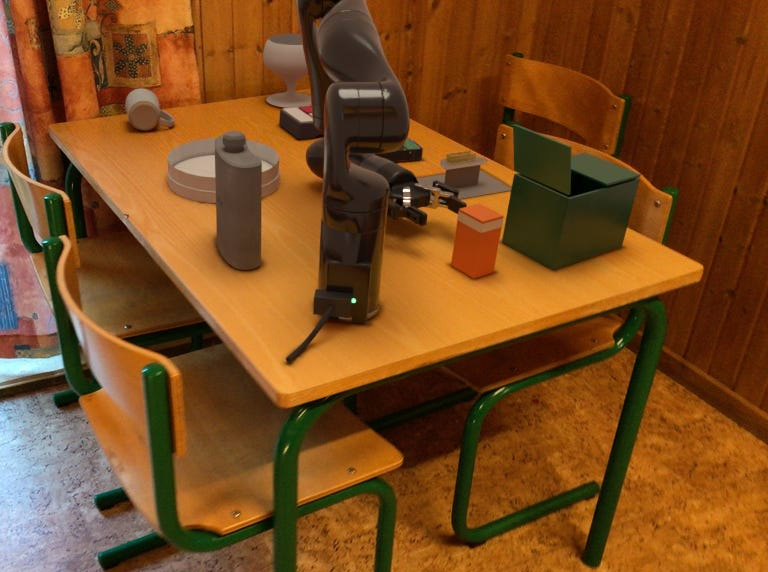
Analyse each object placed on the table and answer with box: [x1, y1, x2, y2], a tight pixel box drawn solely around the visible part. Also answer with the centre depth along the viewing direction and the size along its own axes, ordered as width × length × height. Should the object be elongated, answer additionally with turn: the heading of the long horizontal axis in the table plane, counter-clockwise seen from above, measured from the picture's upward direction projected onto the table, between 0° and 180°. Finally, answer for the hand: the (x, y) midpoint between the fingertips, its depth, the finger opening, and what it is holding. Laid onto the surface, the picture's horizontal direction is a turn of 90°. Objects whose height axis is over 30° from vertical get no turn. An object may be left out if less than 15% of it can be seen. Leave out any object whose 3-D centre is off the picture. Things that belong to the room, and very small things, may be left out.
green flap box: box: [501, 152, 642, 271], centre depth 142 cm, size 17×12×13 cm
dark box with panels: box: [278, 105, 324, 140], centre depth 193 cm, size 11×4×15 cm
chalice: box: [262, 33, 311, 108], centre depth 206 cm, size 14×14×15 cm
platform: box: [416, 149, 512, 202], centre depth 166 cm, size 12×18×7 cm, turn 114°
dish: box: [166, 137, 281, 204], centre depth 165 cm, size 22×22×5 cm
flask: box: [215, 130, 263, 271], centre depth 136 cm, size 15×6×20 cm, turn 15°
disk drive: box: [375, 136, 424, 163], centre depth 180 cm, size 10×3×15 cm
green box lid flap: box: [512, 123, 573, 195], centre depth 132 cm, size 8×12×1 cm
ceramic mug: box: [124, 87, 175, 132], centre depth 190 cm, size 11×8×8 cm
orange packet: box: [450, 202, 504, 280], centre depth 135 cm, size 4×6×10 cm
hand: (445, 215), depth 140 cm, fingers open, 8 cm apart
